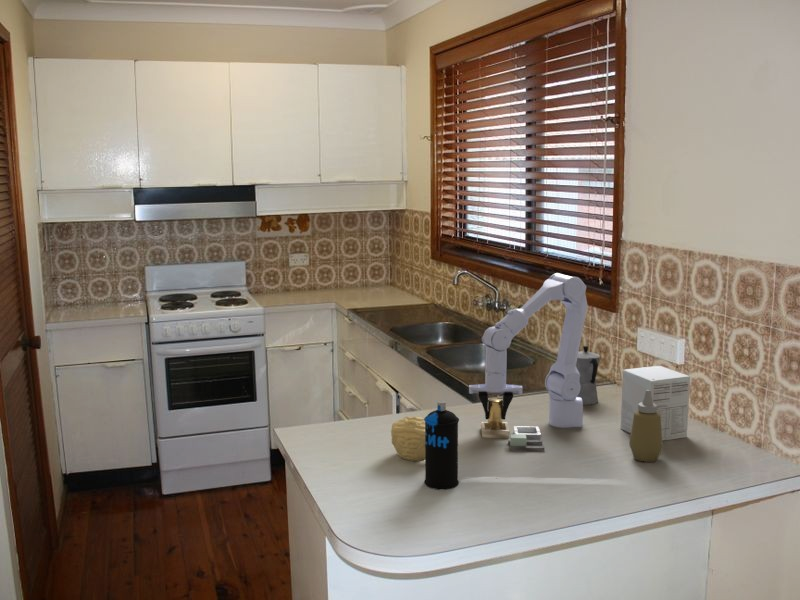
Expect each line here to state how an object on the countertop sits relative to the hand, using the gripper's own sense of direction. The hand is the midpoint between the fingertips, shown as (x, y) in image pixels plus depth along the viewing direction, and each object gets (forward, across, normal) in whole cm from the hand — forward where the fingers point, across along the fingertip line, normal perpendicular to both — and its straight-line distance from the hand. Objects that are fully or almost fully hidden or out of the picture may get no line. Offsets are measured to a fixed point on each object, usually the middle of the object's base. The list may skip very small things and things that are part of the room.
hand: (495, 418), depth 217 cm
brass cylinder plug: (+3, 0, 0) cm, 3 cm away
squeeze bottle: (+6, -38, +15) cm, 41 cm away
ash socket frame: (+4, 0, 0) cm, 4 cm away
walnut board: (+5, -4, +5) cm, 8 cm away
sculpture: (+6, +22, +16) cm, 27 cm away
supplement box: (+6, -44, -5) cm, 45 cm away
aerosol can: (+6, +14, +33) cm, 36 cm away
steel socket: (+4, -8, +3) cm, 10 cm away
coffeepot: (+6, -30, -34) cm, 46 cm away
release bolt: (+4, -6, +11) cm, 13 cm away
